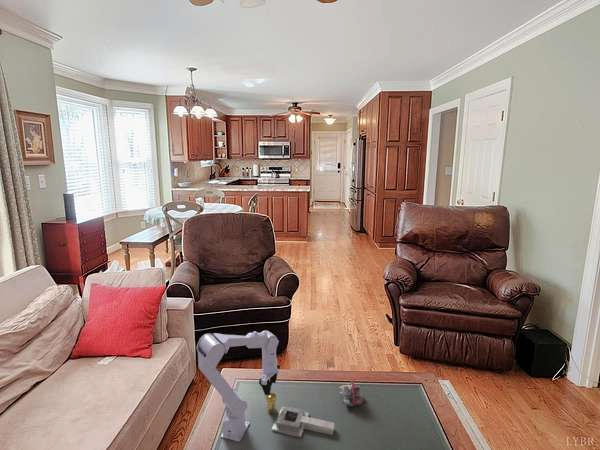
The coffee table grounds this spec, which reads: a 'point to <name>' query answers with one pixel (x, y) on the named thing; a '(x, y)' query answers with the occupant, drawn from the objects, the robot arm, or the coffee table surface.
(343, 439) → the coffee table surface
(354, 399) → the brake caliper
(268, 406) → the pin
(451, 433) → the coffee table surface
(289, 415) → the white stepped square fixture
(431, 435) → the coffee table surface
